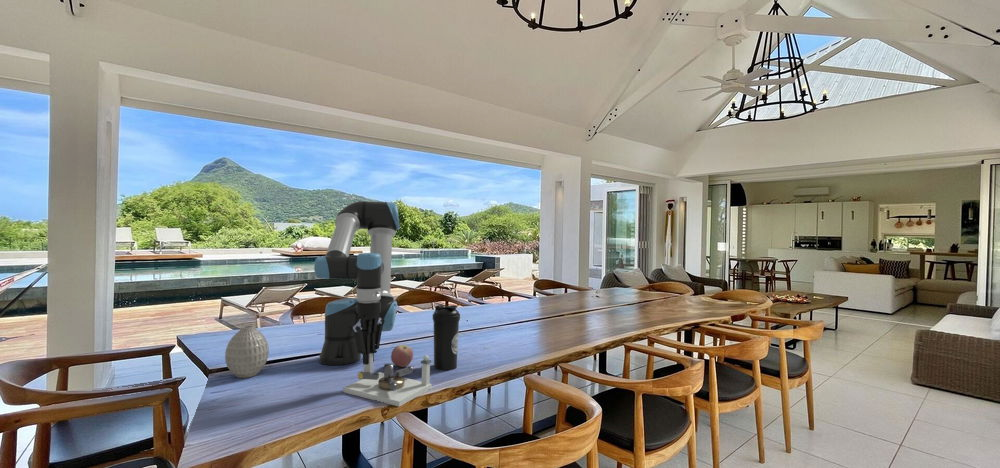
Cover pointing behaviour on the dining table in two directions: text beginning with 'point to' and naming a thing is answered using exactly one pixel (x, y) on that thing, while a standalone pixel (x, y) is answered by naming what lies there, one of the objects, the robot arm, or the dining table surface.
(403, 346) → the apple
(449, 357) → the water bottle
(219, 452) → the dining table surface
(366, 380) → the stand base
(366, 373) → the capstan
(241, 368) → the vase
